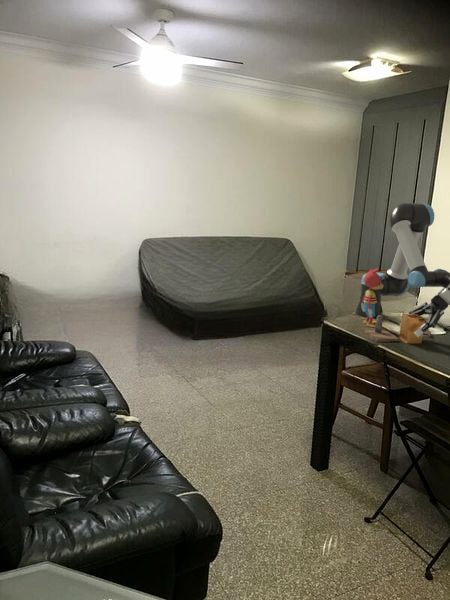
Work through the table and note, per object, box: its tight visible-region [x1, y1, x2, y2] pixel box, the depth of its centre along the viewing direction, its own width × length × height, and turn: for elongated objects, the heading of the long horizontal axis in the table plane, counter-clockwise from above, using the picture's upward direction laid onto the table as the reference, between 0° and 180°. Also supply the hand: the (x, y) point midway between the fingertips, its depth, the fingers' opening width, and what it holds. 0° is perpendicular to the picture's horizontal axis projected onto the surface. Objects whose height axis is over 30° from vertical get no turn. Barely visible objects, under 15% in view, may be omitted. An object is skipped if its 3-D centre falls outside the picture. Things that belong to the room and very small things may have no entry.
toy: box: [361, 268, 383, 329], centre depth 250 cm, size 15×10×30 cm
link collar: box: [398, 313, 426, 344], centre depth 228 cm, size 7×7×12 cm
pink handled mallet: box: [425, 320, 433, 338], centre depth 245 cm, size 8×18×8 cm
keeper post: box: [362, 315, 400, 343], centre depth 233 cm, size 16×11×10 cm
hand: (408, 330), depth 228 cm, fingers open, 13 cm apart
